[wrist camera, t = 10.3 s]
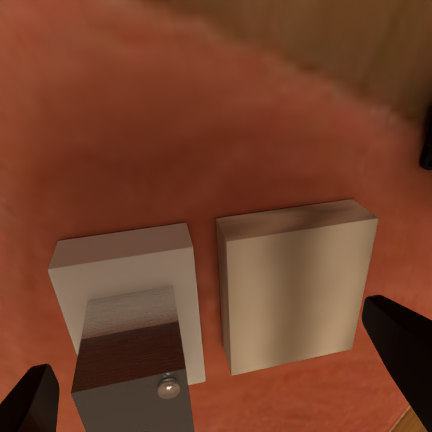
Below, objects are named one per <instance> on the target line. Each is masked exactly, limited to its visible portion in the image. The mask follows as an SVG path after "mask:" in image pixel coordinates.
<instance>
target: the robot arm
mask: <svg viewBox="0 0 432 432" xmlns="http://www.w3.org/2000/svg"><path fill="white" fill-rule="evenodd" d="M429 161H430V162H429ZM428 162H429V163H428ZM420 166H421V167H422V168H424V169H426V170H432V118H431V122H430V126H429V130H428V134H427V138H426V142H425V146H424V150H423V154H422V158H421V162H420ZM362 322H363V325H364V327H365V329H366V331H367V333H368V335H369V336H370V338H371V340H372V342H373V344H374V346H375V348H376V350H377V352H378V353H379V355H380V357H381V359H382V361H383V363H384V365H385V367H386V368H387V370H388V372H389V373H390V375H391V377H392V378H393V380H394V381H395V383H396V384H397V386H398V387H399V389H400V390H401V392H402V393H403V395H404V396H405V398H406V399H407V401H408V402H409V404H410V406H411V407H412V409H413V410H414V412H415V413H416V415H417V416H418V418H419V419H420V421H421V422H422V424H423V425H424V427H425V428H426V430H427V431H428V432H432V320H430V319H428V318H426V317H424V316H422V315H420V314H418V313H416V312H414V311H412V310H410V309H408V308H406V307H404V306H402V305H400V304H398V303H396V302H394V301H392V300H390V299H388V298H386V297H384V296H382V295H373V296H368V297H366V299H365V301H364V306H363V312H362ZM58 402H59V383H58V381H57V379H56V377H55V374H54V372H53V370H52V368H51V366H50V365H49V364H41V365H37V366H33V367H31V368H30V369H29V370H28V371H27V372H26V374H25V375H24V376H23V377H22V378H21V380H20V381H19V382H18V383H17V385H16V386H15V387H14V388H13V389H12V391H11V392H10V393H9V394H8V395H7V397H6V398H5V399H4V400H3V401H2V403H1V404H0V432H56V425H57V414H58Z"/></svg>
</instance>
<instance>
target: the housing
mask: <svg viewBox="0 0 432 432" xmlns="http://www.w3.org/2000/svg"><path fill="white" fill-rule="evenodd" d="M71 395H72V397H73V400H74V402H75V405H76V407H77V410H78V412H79V415H80V417H81V420H82V423H83V425H84V428H85V430H86V432H194V425H193V418H192V410H191V402H190V395H189V387H188V380H187V372H186V365H185V359H184V352H183V346H182V339H181V333H180V327H179V320H178V314H177V307H176V301H175V294H174V288H173V286H167V287H161V288H155V289H150V290H144V291H138V292H132V293H126V294H121V295H115V296H109V297H103V298H97V299H91V300H88V302H87V308H86V313H85V319H84V324H83V330H82V335H81V341H80V346H79V352H78V357H77V363H76V368H75V374H74V379H73V385H72V390H71Z"/></svg>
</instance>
